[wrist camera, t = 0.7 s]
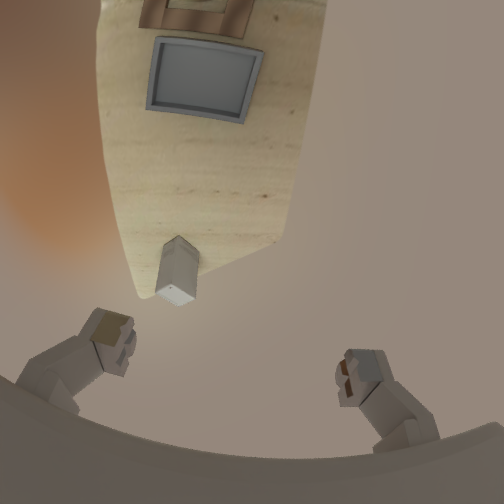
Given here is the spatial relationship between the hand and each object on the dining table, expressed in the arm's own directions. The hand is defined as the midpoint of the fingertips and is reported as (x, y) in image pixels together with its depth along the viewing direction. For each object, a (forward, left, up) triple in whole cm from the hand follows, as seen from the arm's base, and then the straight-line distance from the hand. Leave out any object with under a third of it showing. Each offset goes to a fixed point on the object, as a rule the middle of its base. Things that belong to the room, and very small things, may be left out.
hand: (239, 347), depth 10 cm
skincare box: (+31, -37, -48) cm, 68 cm away
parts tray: (-3, -6, -48) cm, 48 cm away
